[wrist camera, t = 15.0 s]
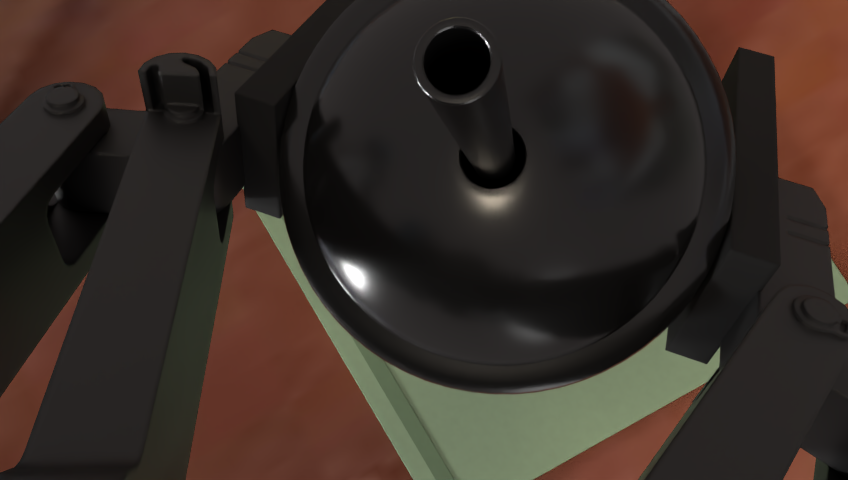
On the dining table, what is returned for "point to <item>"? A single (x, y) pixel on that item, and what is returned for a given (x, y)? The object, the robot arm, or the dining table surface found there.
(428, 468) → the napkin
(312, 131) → the drinking cup
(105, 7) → the dining table surface
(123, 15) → the dining table surface
